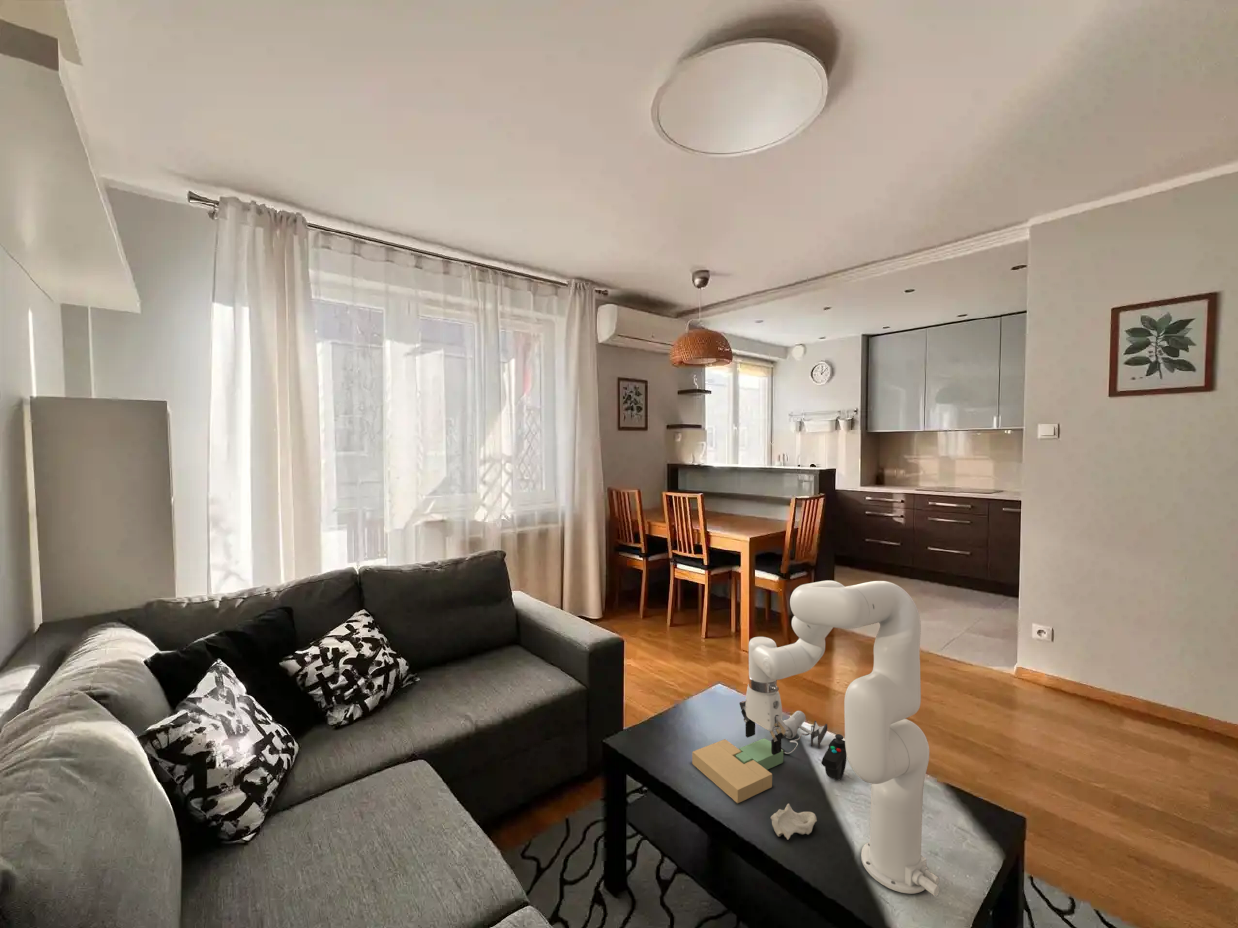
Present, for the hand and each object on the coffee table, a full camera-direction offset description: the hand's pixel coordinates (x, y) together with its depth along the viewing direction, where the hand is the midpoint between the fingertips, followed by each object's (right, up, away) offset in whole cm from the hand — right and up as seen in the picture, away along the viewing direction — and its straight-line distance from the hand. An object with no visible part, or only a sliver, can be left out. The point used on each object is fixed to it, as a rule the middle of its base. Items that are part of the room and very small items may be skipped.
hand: (763, 744), depth 143 cm
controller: (+17, -6, -6) cm, 19 cm away
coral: (0, -7, -24) cm, 25 cm away
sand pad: (-10, -6, -5) cm, 13 cm away
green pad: (-2, -5, 0) cm, 6 cm away
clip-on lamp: (+13, -5, +10) cm, 17 cm away
